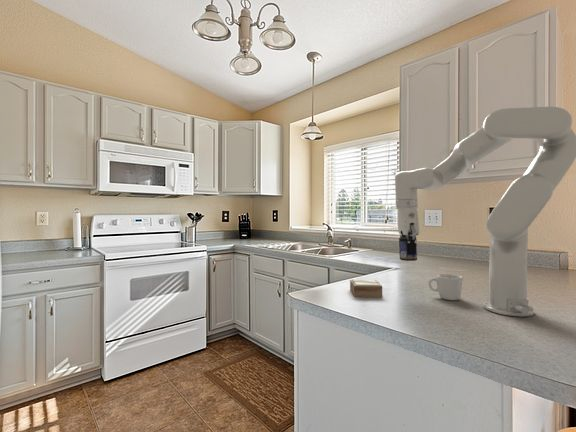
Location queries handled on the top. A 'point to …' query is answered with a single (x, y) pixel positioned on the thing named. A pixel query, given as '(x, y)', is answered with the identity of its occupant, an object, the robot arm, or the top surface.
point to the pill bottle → (403, 249)
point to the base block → (365, 288)
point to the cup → (448, 286)
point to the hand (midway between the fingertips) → (408, 252)
